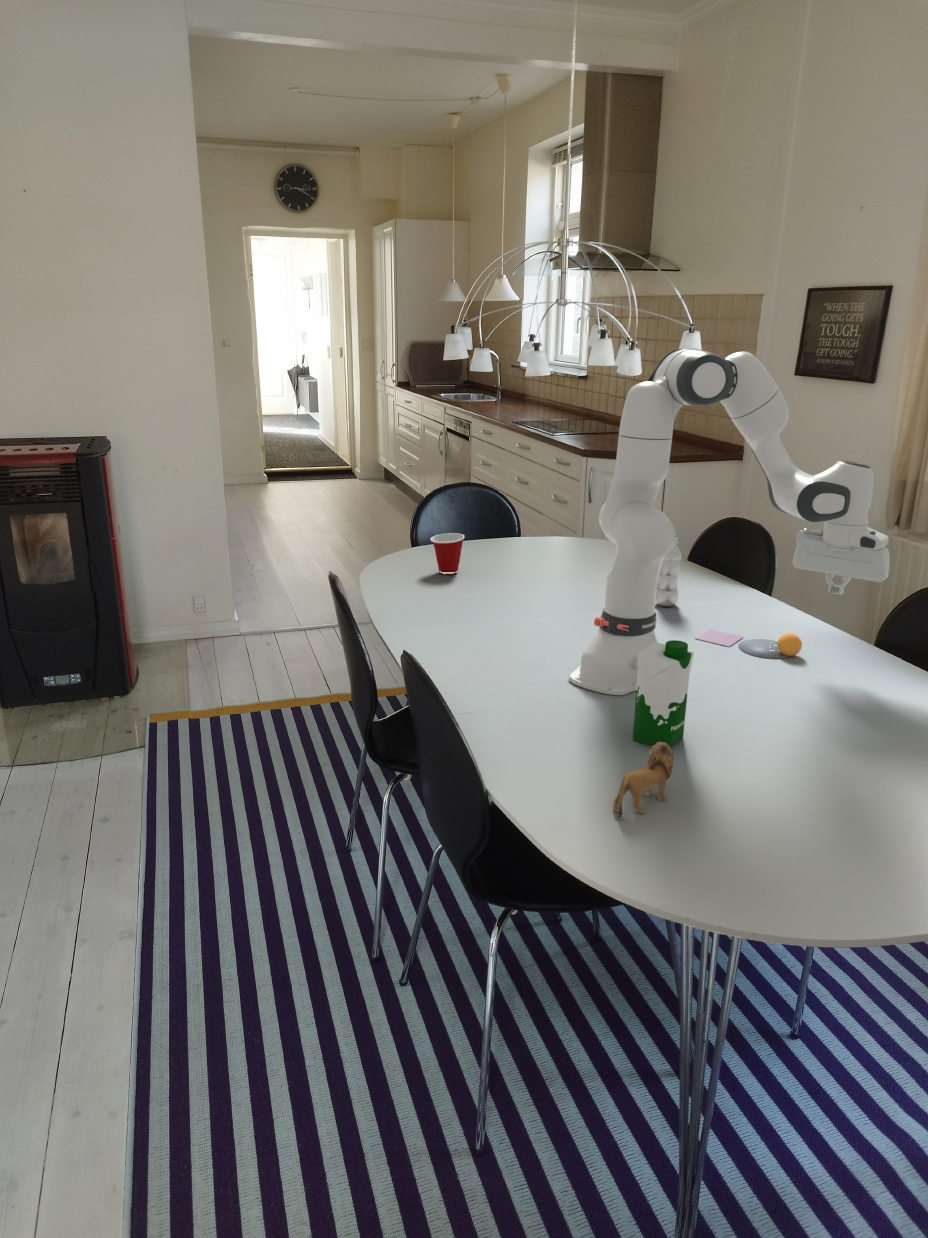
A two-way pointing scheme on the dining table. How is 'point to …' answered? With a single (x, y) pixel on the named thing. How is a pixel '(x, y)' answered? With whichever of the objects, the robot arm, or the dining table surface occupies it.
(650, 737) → the milk carton
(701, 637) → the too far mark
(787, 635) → the ball
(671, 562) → the plastic bottle
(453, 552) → the plastic cup
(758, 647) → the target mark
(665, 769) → the lion figurine
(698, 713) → the dining table surface
